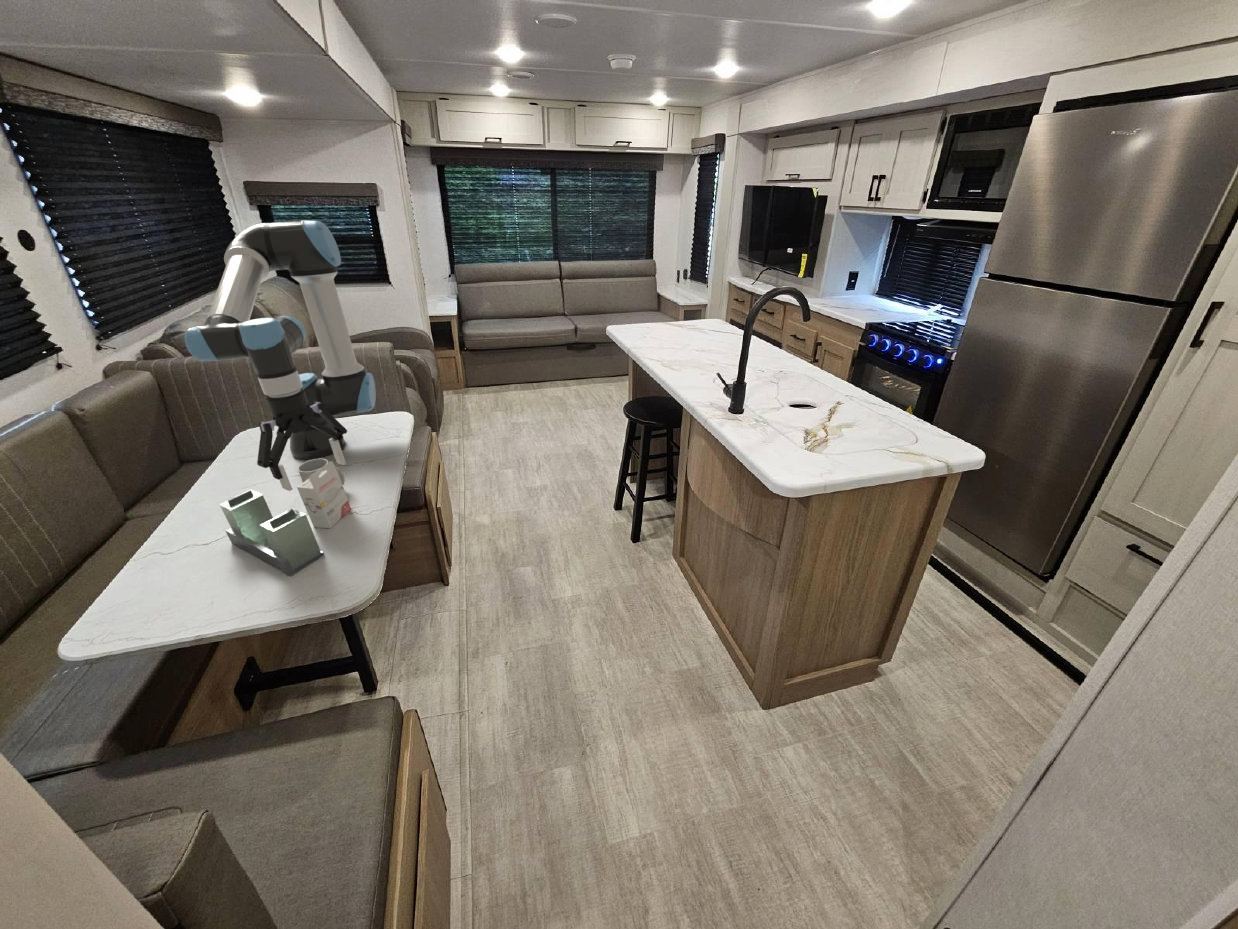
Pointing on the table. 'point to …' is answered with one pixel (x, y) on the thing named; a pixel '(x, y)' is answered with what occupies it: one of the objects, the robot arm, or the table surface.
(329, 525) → the ink cartridge box
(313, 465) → the cup
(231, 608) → the table surface
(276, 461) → the robot arm
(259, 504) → the double block cradle
